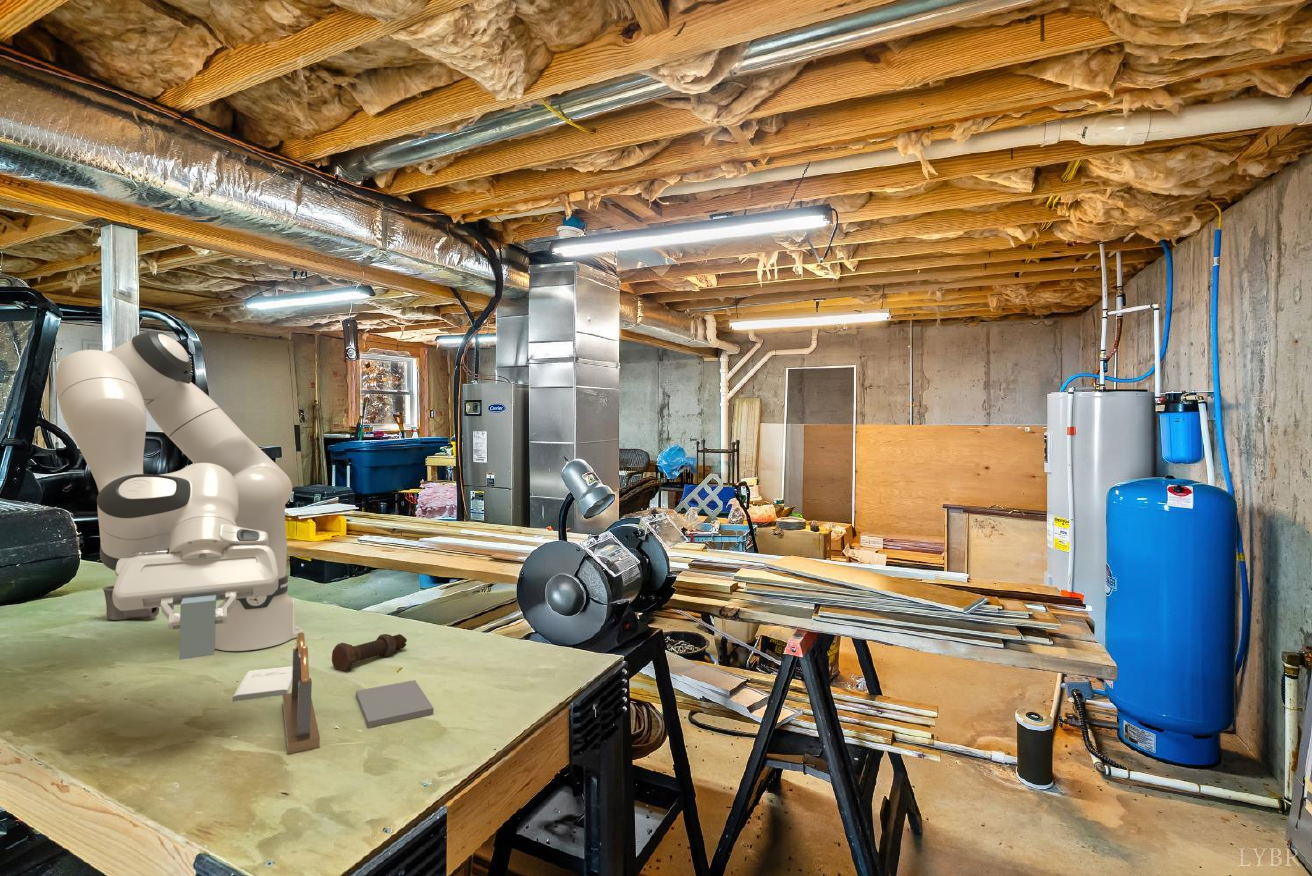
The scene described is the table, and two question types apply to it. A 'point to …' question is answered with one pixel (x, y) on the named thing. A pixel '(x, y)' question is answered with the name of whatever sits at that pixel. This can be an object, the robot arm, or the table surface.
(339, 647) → the bolt
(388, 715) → the pad
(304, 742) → the wire frame
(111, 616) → the pipe
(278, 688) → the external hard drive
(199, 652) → the block
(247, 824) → the table surface
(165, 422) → the robot arm
